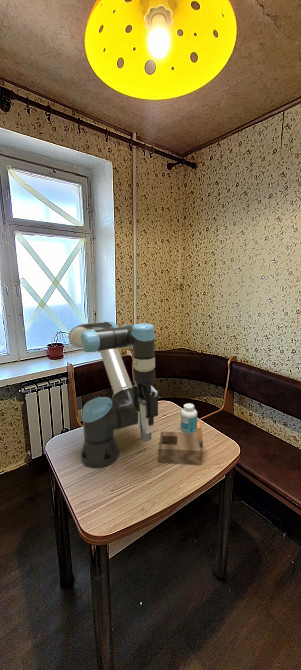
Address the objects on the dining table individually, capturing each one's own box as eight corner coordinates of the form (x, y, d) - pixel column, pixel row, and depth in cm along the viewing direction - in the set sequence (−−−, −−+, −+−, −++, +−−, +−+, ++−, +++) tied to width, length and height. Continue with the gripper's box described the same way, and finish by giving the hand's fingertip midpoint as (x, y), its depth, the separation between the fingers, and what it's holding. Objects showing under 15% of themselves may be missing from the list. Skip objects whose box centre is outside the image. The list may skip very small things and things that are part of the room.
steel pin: (137, 442, 97) (136, 400, 94) (140, 434, 102) (138, 394, 99) (152, 443, 97) (151, 401, 93) (153, 434, 102) (153, 395, 98)
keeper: (199, 436, 109) (202, 435, 109) (199, 441, 106) (202, 441, 105) (196, 422, 108) (199, 422, 108) (197, 427, 105) (200, 427, 104)
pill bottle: (196, 428, 128) (196, 402, 126) (197, 437, 121) (198, 409, 118) (180, 428, 129) (180, 401, 126) (180, 436, 122) (180, 409, 119)
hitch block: (158, 462, 105) (158, 444, 104) (161, 444, 117) (161, 427, 115) (202, 465, 103) (203, 446, 101) (201, 446, 115) (201, 429, 113)
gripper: (121, 365, 98) (124, 423, 103) (150, 377, 85) (152, 444, 90) (138, 360, 103) (140, 417, 108) (168, 372, 90) (169, 436, 94)
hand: (145, 429), depth 99 cm, fingers closed on steel pin, 4 cm apart
